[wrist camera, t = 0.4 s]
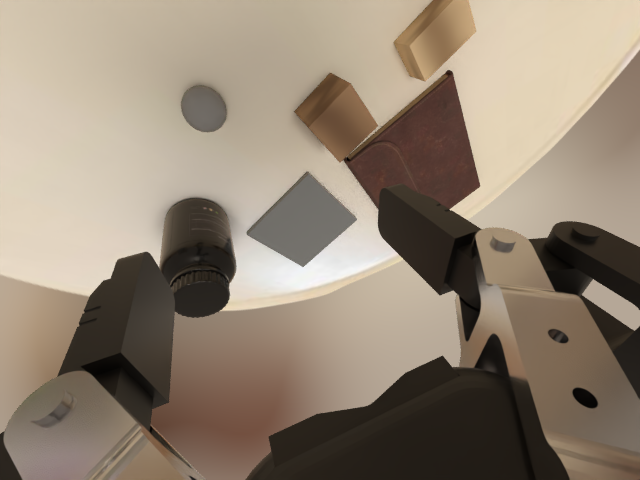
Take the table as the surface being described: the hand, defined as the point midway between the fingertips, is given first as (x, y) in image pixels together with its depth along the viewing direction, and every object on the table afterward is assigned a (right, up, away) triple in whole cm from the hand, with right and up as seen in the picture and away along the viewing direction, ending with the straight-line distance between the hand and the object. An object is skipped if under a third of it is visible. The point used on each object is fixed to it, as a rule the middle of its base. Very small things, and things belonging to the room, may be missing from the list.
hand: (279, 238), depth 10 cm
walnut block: (+2, +14, +19) cm, 24 cm away
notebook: (+15, +10, +29) cm, 35 cm away
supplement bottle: (-13, +2, +23) cm, 26 cm away
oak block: (+12, +21, +18) cm, 30 cm away
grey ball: (-9, +11, +14) cm, 20 cm away
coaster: (-1, +2, +28) cm, 28 cm away
